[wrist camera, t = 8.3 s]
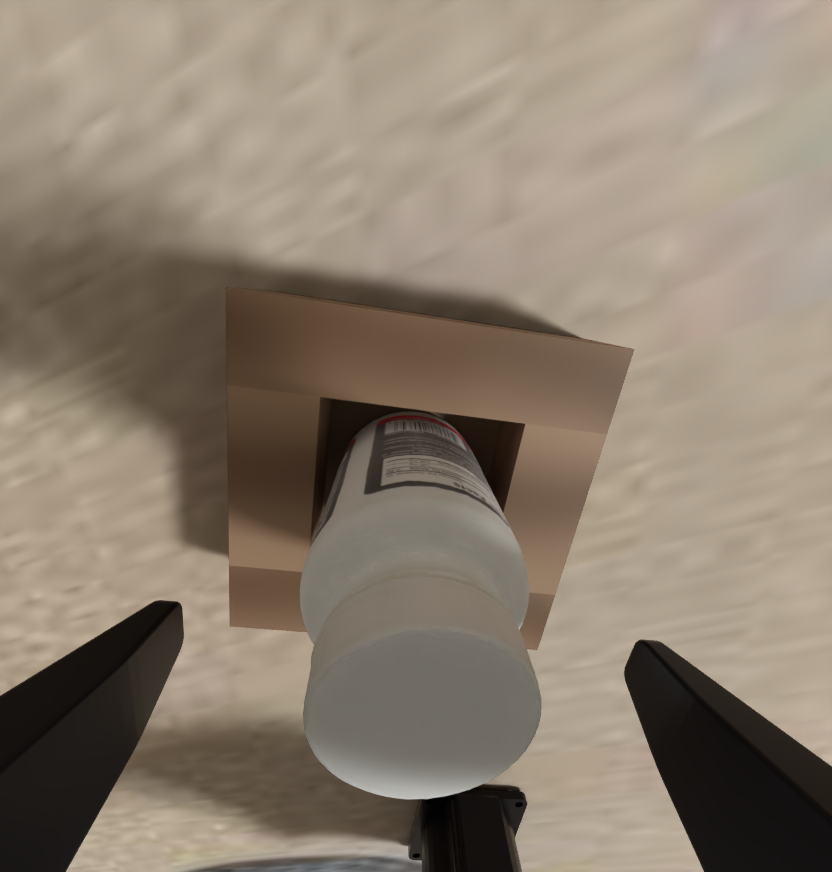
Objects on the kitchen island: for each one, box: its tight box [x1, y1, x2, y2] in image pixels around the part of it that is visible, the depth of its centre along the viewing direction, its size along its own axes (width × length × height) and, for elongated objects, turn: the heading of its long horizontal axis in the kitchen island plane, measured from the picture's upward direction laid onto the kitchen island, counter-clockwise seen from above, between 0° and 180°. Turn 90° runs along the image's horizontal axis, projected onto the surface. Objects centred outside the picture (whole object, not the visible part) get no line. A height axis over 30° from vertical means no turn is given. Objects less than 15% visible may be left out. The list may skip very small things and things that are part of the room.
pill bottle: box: [300, 412, 541, 800], centre depth 11 cm, size 5×5×10 cm
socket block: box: [226, 287, 634, 650], centre depth 15 cm, size 12×12×4 cm
